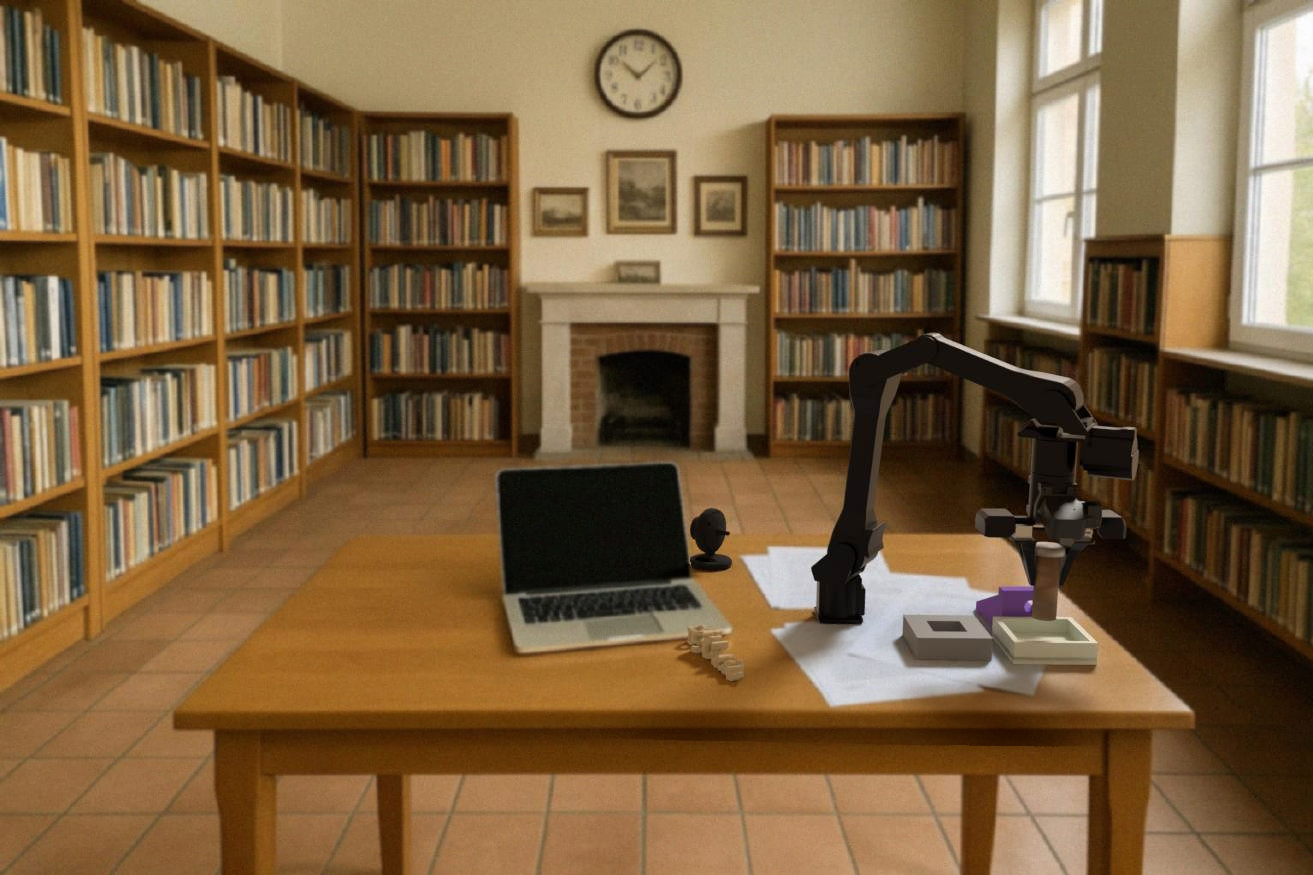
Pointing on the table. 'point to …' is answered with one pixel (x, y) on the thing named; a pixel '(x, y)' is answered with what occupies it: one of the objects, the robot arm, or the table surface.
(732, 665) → the decorative script
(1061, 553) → the peg
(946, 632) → the holder
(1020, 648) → the tray
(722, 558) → the webcam
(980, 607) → the bracket
